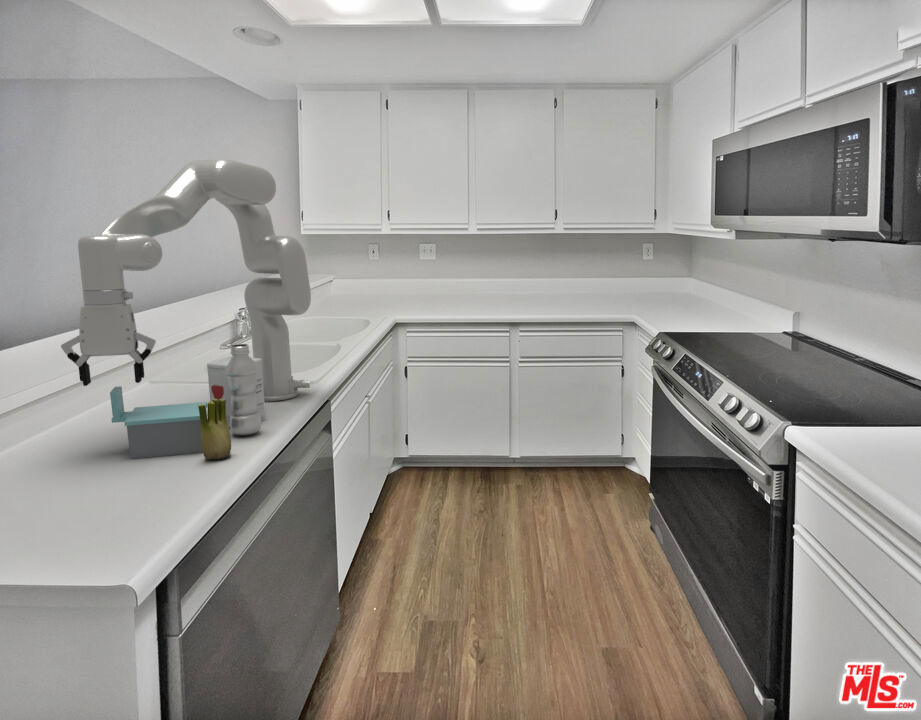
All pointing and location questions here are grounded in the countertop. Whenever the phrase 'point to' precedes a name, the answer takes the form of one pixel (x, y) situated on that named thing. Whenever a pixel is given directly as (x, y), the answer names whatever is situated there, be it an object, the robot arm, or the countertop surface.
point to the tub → (164, 439)
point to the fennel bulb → (215, 430)
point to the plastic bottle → (243, 391)
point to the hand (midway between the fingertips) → (113, 383)
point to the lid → (152, 411)
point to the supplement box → (221, 385)
